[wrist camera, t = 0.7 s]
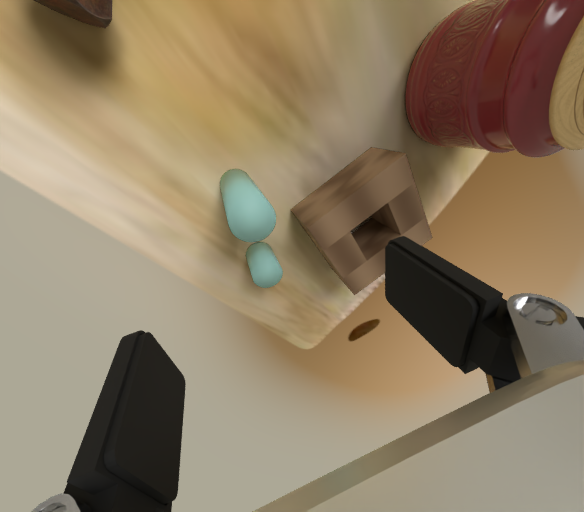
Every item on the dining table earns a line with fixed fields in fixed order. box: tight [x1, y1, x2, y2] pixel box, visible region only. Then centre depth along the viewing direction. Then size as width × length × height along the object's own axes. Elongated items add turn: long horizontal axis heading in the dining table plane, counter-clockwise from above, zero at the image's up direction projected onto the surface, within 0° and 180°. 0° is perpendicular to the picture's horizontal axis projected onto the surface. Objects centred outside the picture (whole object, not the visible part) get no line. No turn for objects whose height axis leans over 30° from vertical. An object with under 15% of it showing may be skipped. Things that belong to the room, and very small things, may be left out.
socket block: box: [291, 147, 432, 295], centre depth 30 cm, size 12×12×6 cm
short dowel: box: [246, 242, 283, 288], centre depth 29 cm, size 3×3×5 cm
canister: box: [406, 0, 584, 157], centre depth 21 cm, size 13×13×18 cm
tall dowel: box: [220, 169, 276, 242], centre depth 22 cm, size 3×3×11 cm
